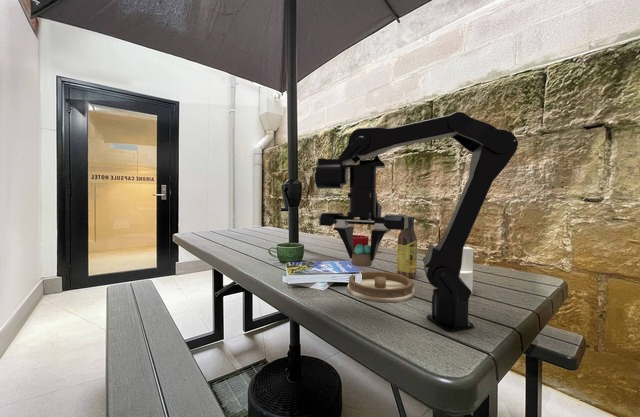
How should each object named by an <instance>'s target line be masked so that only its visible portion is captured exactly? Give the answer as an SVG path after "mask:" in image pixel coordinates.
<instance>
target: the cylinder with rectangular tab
mask: <svg viewBox="0 0 640 417" xmlns="http://www.w3.org/2000/svg"><path fill="white" fill-rule="evenodd" d="M473 275H474V248H473V247H469V246H464V248H463V255H462V266H461V270H460V275H459V277H460V278H461V279H462V280H463V282H464V283H465V284H466V285H467V287H468V288H469V289H470V290H471V292H472V293H471V295H473V283H474V282H473V278H474V276H473Z"/></svg>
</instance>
